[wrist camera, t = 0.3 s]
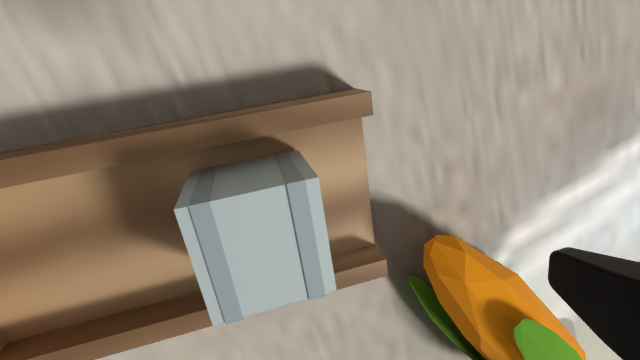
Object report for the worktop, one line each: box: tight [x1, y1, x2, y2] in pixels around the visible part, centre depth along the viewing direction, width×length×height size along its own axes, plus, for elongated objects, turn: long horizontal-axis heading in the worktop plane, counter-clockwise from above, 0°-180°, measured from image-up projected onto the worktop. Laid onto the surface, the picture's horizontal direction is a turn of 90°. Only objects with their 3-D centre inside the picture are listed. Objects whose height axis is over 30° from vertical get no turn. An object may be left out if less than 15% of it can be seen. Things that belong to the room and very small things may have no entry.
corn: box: [408, 235, 586, 360], centre depth 24 cm, size 7×8×20 cm
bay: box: [0, 89, 388, 360], centre depth 17 cm, size 11×23×5 cm, turn 98°
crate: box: [174, 150, 337, 326], centre depth 17 cm, size 6×6×5 cm
